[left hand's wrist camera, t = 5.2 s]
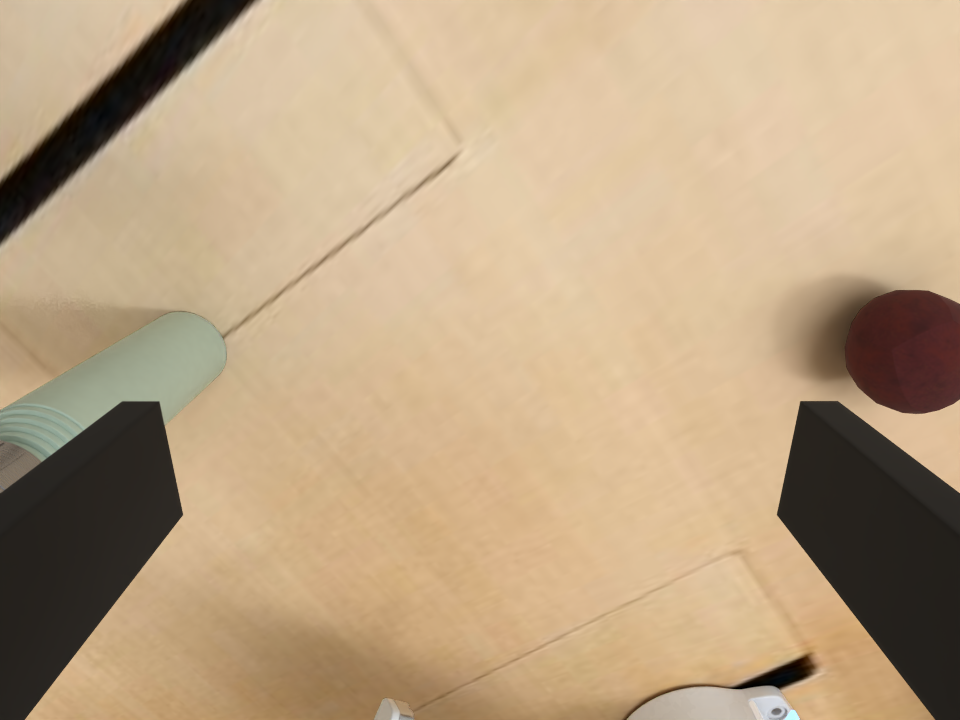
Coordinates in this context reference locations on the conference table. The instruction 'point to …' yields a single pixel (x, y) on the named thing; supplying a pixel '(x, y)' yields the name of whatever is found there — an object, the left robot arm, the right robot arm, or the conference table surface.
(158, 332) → the bottle
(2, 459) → the cap
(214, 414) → the conference table surface
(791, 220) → the conference table surface
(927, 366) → the dark red sphere
